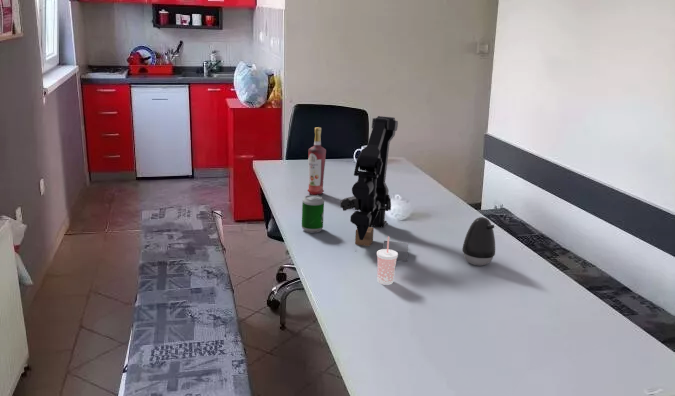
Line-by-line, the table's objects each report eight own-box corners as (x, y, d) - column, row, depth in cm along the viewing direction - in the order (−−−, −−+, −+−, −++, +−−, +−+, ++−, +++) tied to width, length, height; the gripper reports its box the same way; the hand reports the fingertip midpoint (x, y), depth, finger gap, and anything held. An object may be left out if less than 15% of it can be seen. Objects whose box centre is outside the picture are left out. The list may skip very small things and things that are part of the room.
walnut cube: (358, 239, 216) (359, 225, 215) (372, 241, 215) (373, 227, 214) (355, 244, 212) (355, 230, 210) (369, 246, 210) (370, 232, 209)
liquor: (327, 193, 266) (330, 127, 257) (317, 197, 260) (320, 130, 251) (313, 190, 269) (315, 125, 261) (303, 193, 263) (305, 127, 255)
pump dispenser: (475, 271, 195) (481, 224, 190) (454, 258, 203) (459, 214, 199) (500, 266, 199) (506, 221, 195) (479, 254, 208) (484, 210, 203)
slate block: (383, 250, 208) (384, 240, 207) (407, 252, 207) (408, 242, 206) (381, 259, 201) (382, 249, 200) (407, 262, 200) (407, 251, 199)
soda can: (320, 234, 219) (321, 201, 215) (299, 232, 220) (300, 199, 216) (324, 227, 226) (326, 195, 222) (304, 225, 227) (305, 193, 223)
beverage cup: (389, 287, 180) (393, 242, 176) (370, 282, 183) (374, 237, 179) (399, 280, 185) (403, 236, 181) (380, 275, 188) (384, 231, 184)
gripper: (350, 181, 218) (348, 223, 223) (336, 195, 201) (333, 241, 206) (382, 184, 216) (379, 227, 220) (370, 199, 199) (367, 246, 203)
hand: (364, 235), depth 213 cm, fingers open, 9 cm apart
